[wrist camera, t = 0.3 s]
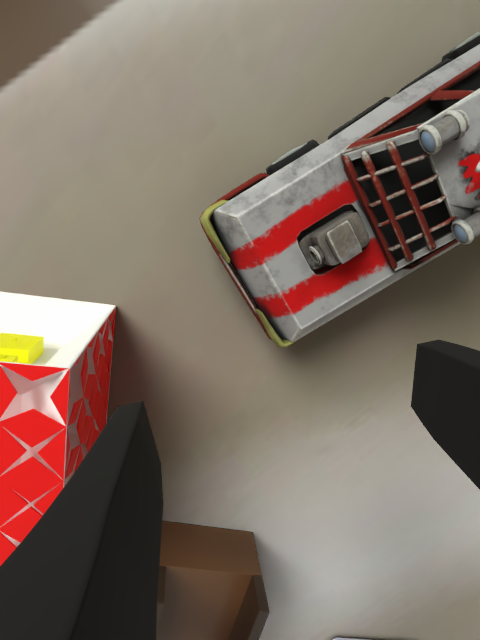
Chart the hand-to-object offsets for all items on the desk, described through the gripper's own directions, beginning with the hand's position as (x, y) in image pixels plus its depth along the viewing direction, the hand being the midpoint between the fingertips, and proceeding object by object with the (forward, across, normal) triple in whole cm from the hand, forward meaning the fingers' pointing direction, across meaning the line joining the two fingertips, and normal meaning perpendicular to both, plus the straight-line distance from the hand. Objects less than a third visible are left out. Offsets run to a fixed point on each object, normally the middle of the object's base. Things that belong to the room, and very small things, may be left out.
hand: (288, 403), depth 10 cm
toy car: (+11, -9, -3) cm, 14 cm away
